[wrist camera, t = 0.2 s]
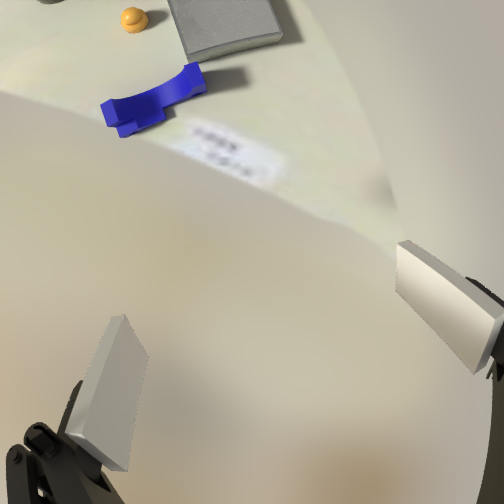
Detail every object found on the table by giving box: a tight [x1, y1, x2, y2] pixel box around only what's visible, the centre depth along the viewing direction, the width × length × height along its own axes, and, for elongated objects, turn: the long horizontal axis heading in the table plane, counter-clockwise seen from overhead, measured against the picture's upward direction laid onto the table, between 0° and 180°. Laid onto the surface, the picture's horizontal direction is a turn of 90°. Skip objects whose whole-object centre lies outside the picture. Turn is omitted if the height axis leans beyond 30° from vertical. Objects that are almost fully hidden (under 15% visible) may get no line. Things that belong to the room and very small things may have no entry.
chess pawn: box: [121, 7, 148, 33], centre depth 24 cm, size 3×3×4 cm
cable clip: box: [100, 61, 207, 138], centre depth 29 cm, size 12×4×6 cm, turn 109°
